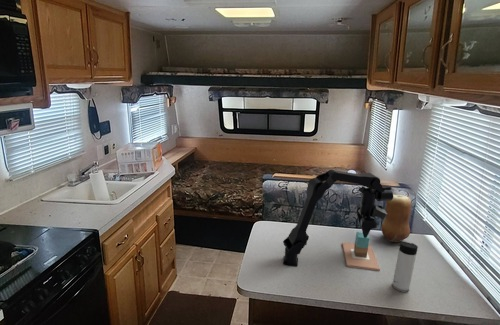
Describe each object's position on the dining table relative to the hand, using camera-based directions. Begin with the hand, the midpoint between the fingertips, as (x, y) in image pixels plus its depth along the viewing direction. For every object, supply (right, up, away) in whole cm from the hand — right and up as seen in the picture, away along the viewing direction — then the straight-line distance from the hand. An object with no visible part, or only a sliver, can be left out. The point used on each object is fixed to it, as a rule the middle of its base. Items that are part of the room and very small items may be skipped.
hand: (363, 232), depth 146 cm
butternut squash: (+23, -9, +19) cm, 31 cm away
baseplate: (-1, -12, +3) cm, 12 cm away
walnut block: (-1, -11, +3) cm, 11 cm away
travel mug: (+9, -19, -18) cm, 27 cm away
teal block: (0, -6, +2) cm, 6 cm away
